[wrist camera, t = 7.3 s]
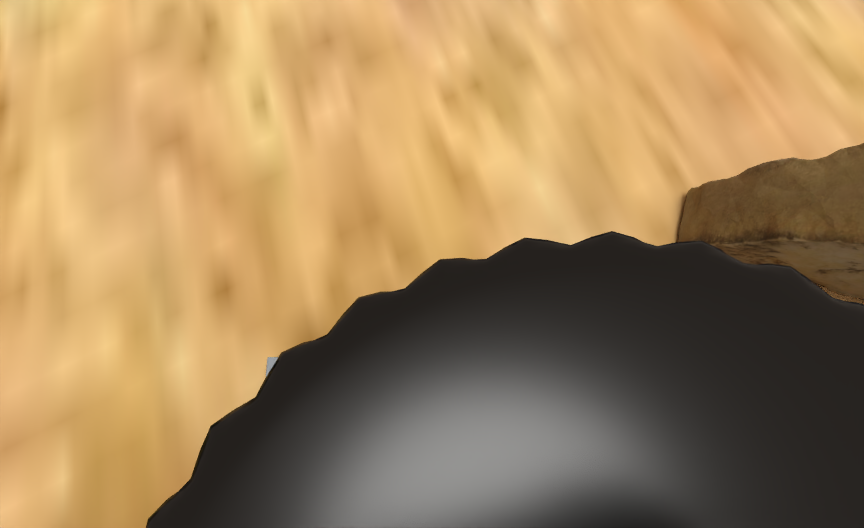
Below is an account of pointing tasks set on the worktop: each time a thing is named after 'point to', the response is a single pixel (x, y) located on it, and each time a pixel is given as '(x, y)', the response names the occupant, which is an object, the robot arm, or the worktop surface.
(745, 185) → the rock
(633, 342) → the supplement bottle
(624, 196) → the worktop surface
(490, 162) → the worktop surface
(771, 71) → the worktop surface
